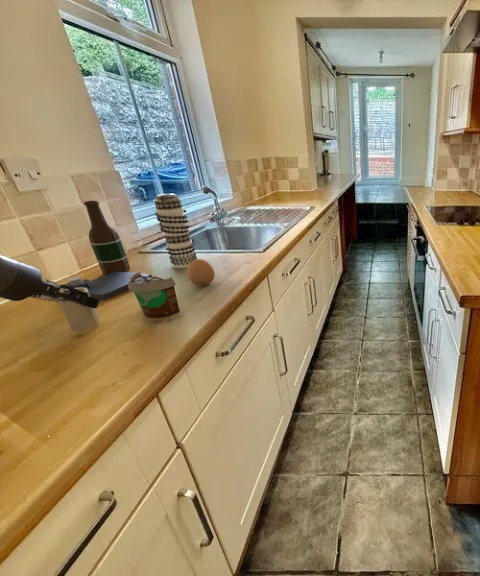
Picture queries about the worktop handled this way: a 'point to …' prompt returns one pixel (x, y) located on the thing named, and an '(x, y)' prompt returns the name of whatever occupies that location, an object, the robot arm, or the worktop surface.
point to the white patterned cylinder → (175, 230)
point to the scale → (107, 285)
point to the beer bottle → (105, 242)
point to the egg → (200, 272)
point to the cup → (80, 314)
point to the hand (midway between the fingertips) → (85, 303)
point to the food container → (154, 295)
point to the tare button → (76, 281)
